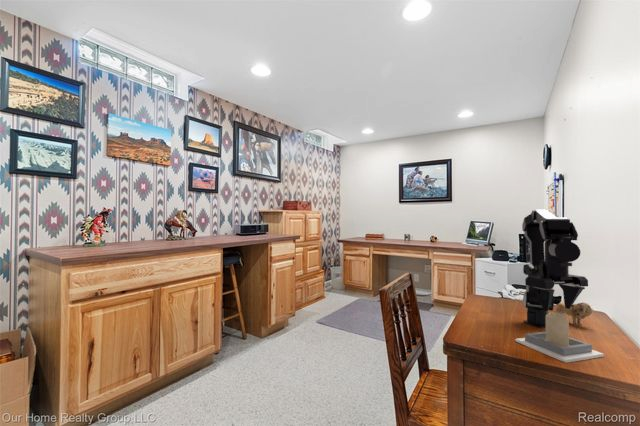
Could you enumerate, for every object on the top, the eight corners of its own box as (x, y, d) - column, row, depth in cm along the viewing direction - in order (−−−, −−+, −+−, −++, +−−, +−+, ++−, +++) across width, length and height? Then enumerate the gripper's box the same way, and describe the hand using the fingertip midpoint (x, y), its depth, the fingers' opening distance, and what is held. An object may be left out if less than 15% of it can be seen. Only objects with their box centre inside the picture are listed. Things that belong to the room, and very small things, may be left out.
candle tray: (549, 336, 99) (549, 328, 99) (603, 356, 85) (603, 346, 85) (515, 341, 95) (515, 332, 95) (566, 362, 81) (566, 352, 81)
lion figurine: (596, 328, 108) (596, 303, 108) (585, 329, 107) (585, 304, 107) (555, 316, 122) (555, 294, 123) (545, 316, 121) (545, 294, 121)
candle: (573, 350, 87) (572, 316, 87) (552, 348, 88) (551, 314, 88) (562, 343, 92) (561, 310, 92) (542, 341, 93) (541, 309, 93)
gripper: (551, 255, 101) (551, 301, 101) (509, 256, 96) (509, 304, 95) (588, 259, 90) (589, 310, 90) (544, 260, 85) (544, 314, 85)
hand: (556, 309), depth 90 cm, fingers open, 9 cm apart
